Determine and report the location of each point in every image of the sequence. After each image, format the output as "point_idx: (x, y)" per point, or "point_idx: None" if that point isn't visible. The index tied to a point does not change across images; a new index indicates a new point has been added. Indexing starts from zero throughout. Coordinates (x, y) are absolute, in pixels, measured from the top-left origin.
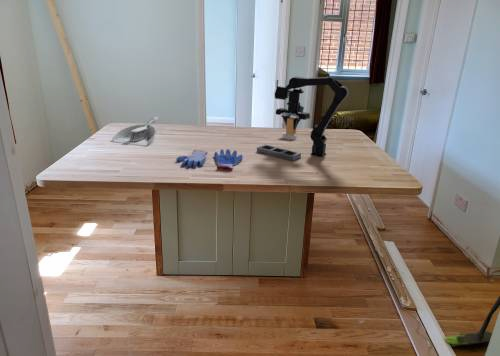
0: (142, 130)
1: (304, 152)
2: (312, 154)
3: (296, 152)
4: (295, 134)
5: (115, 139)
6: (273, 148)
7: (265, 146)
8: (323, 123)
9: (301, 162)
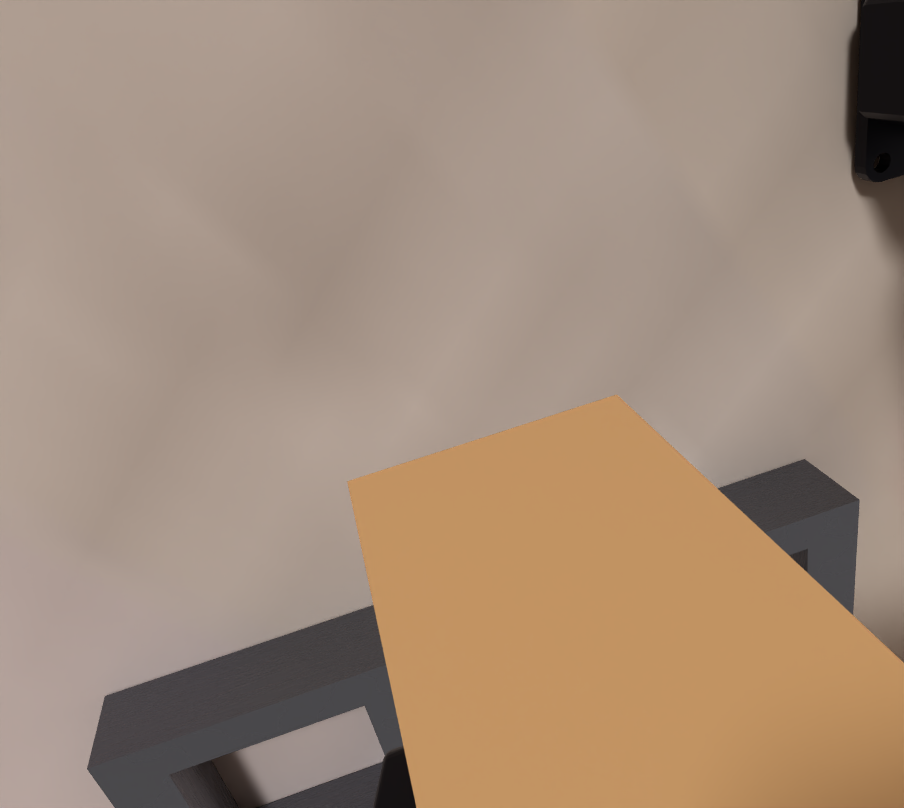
0: None
1: (703, 186)
2: (896, 173)
3: (785, 539)
4: (618, 408)
5: None
6: (391, 745)
7: (183, 786)
8: None
9: (900, 565)
